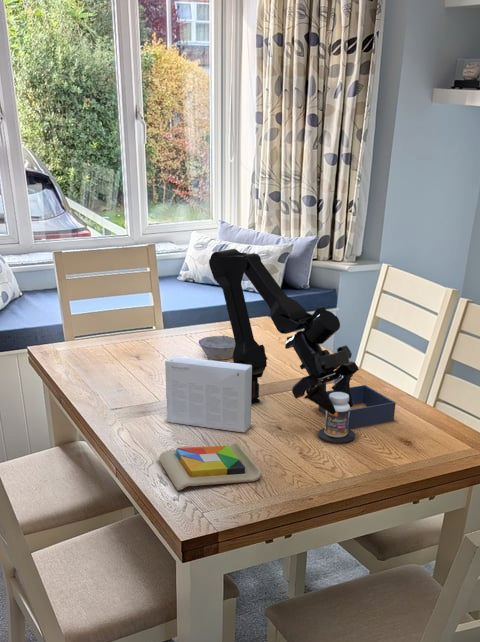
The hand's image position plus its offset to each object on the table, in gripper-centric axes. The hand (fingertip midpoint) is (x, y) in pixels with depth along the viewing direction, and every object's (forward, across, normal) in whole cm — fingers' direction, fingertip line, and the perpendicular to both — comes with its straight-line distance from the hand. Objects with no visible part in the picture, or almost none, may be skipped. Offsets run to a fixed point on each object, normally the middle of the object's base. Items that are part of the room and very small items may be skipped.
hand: (343, 410), depth 178 cm
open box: (0, +14, +10) cm, 17 cm away
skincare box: (-14, -18, +25) cm, 34 cm away
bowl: (-42, +21, +52) cm, 70 cm away
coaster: (+4, 0, +6) cm, 7 cm away
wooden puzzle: (-1, -35, +11) cm, 37 cm away
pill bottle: (+4, 0, +6) cm, 7 cm away
